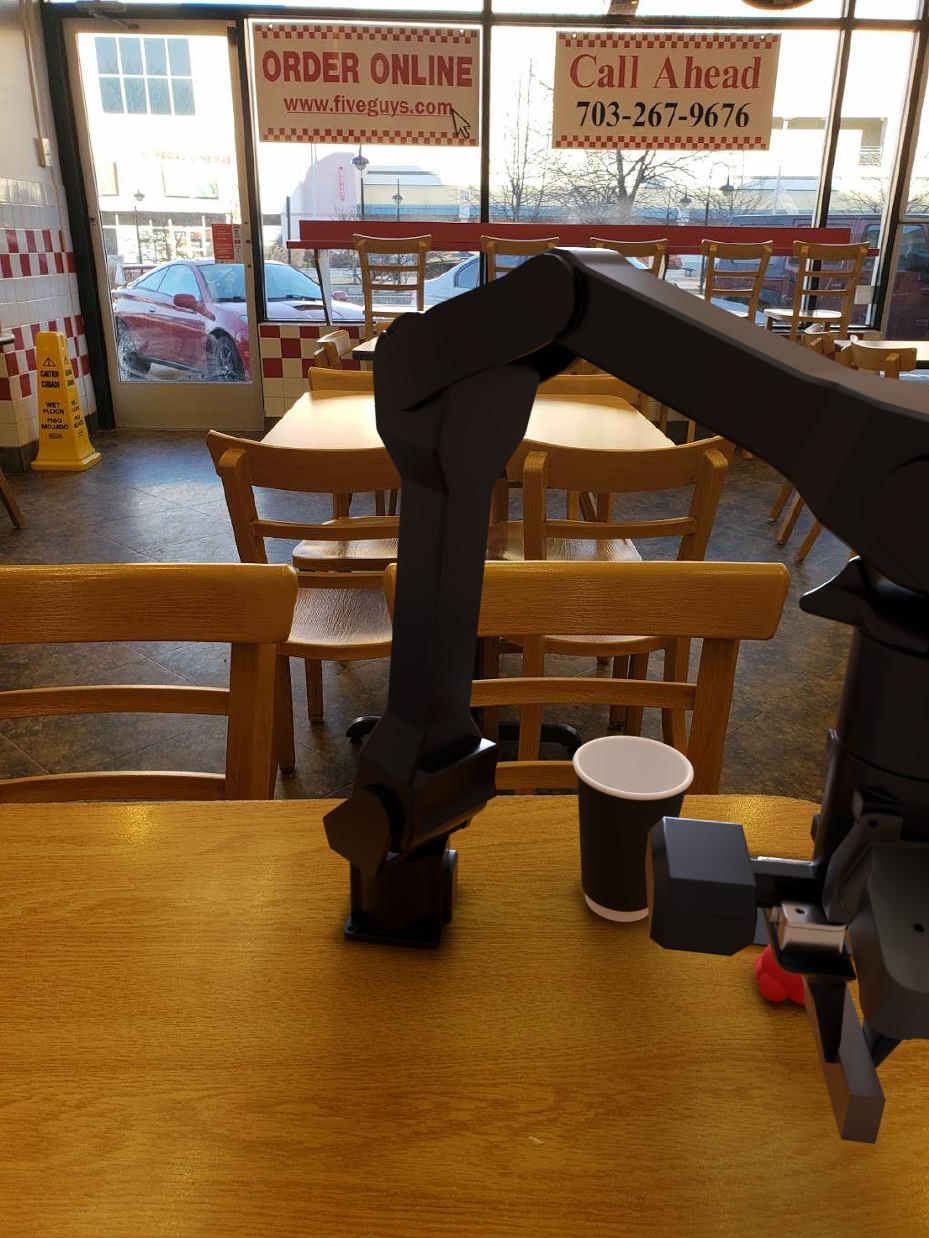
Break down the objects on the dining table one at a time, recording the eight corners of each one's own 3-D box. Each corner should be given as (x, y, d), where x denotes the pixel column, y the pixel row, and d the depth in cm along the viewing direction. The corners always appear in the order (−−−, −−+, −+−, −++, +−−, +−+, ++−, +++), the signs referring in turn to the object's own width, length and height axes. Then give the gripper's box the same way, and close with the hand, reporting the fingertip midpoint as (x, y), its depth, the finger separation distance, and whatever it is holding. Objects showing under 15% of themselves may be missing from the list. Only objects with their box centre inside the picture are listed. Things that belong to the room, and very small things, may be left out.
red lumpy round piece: (758, 1006, 57) (767, 956, 56) (750, 967, 60) (758, 919, 59) (819, 1014, 57) (829, 963, 55) (808, 974, 60) (817, 926, 59)
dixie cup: (699, 920, 65) (719, 781, 60) (599, 949, 62) (613, 805, 58) (635, 855, 71) (649, 727, 67) (543, 879, 68) (552, 746, 64)
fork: (897, 1147, 39) (908, 1102, 38) (819, 1137, 39) (829, 1092, 38) (820, 914, 53) (827, 877, 52) (764, 909, 53) (770, 872, 52)
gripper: (680, 842, 30) (638, 1196, 35) (1336, 905, 27) (1179, 1273, 33) (661, 692, 40) (631, 983, 45) (1136, 728, 38) (1042, 1031, 43)
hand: (846, 1058), depth 41 cm, fingers closed on fork, 1 cm apart
